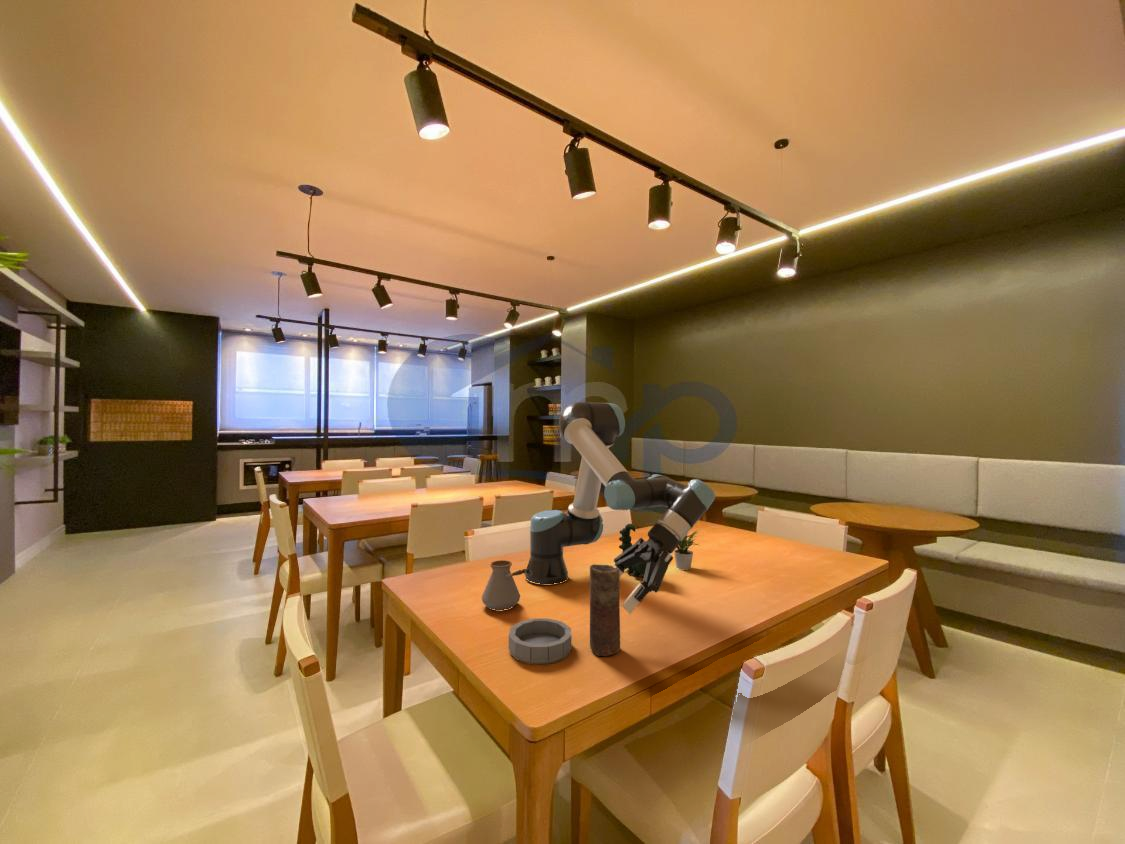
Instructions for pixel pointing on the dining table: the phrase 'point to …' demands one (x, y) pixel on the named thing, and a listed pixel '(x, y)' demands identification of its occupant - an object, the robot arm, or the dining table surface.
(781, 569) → the dining table surface
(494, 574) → the coffee pot
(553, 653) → the candle dish
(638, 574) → the toy figurine
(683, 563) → the house plant
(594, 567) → the candle
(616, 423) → the robot arm
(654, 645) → the dining table surface
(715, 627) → the dining table surface
